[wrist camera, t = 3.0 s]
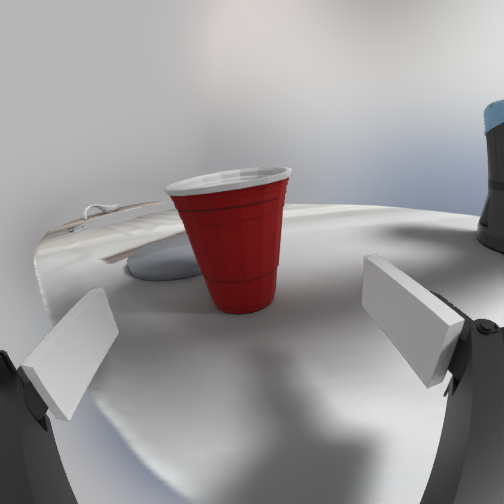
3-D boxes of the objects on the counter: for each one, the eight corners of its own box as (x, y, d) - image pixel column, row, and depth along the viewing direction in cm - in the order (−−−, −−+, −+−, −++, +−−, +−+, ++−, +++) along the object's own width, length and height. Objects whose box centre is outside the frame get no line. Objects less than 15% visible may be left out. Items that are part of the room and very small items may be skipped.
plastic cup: (169, 329, 22) (136, 186, 18) (208, 278, 32) (192, 175, 28) (299, 333, 20) (288, 165, 16) (301, 275, 30) (293, 164, 26)
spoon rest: (116, 210, 146) (114, 198, 144) (124, 209, 140) (122, 197, 137) (81, 220, 129) (79, 208, 127) (87, 220, 122) (85, 207, 120)
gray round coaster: (228, 233, 52) (227, 226, 51) (260, 261, 35) (259, 250, 35) (135, 252, 47) (133, 244, 46) (122, 291, 30) (119, 280, 30)
